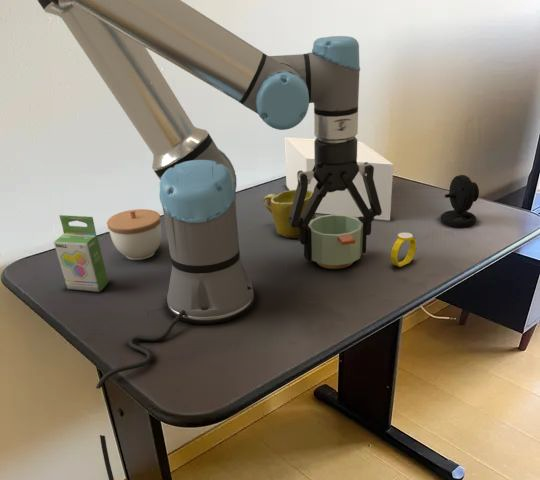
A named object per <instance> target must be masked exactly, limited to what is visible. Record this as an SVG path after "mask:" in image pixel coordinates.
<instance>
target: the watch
mask: <svg viewBox="0 0 540 480" xmlns="http://www.w3.org/2000/svg"><path fill="white" fill-rule="evenodd" d="M404 242H409V246H408V247H409V248H408V251H407V254H406V256H405V257H404V259H403V260H401V261H399V260H398V256H399V251H400V249H401V246H402V245H403V243H404ZM416 251H417V241H416V239H415V237H414V235H413V234H412V233H410V232H399V233H398V234H397V239H396V241H394V244H393V245H392V248H391V252H390V261H391V263H392V264H393V266H394V267H395V266H396V267H398V268H401V267H404V266H406V265H408V264H411V262H412V260H413V259H414V257H415V254H416Z"/></svg>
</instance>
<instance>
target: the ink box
mask: <svg viewBox="0 0 540 480" xmlns="http://www.w3.org/2000/svg"><path fill="white" fill-rule="evenodd" d="M59 220H60V223H61V226H62V232H63V233H62V234H61V235H60V236H59V237H57V239H55V240H54V241H53V245H54V248H55V252H56V255H57V258H58V261H59V265H60V269H61V271H62V275H63V278H64V281H65V285H66V288H67V290H74V291H75V290H76V291H85V292H86V291H87V292H96V293H97V292H98V293H99V292H101V291H102V290H103V289H104V288H105V287H106V286H107V285H108V284H109V279H108V275H107V271H106V267H105V262H104V258H103V253H102V249H101V246H100V242H99V238H98V235H97V231H96V225H95V221H94V217H93V216H84V215H68V214H67V215H63V214H59ZM77 221H78V222H81V223H83V224H86V226H80V225H79V226H78V225H70V224H69V223H71V222H77Z"/></svg>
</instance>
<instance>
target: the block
mask: <svg viewBox="0 0 540 480" xmlns="http://www.w3.org/2000/svg"><path fill="white" fill-rule="evenodd" d="M315 140H316V138H307V137H292V136H291V137H289V136H284V159H285V179H286V180H285V185H286V188H287V189H288V191H289V190H296V189H297V185H298V178H297V173H298V171H300V170H301V171H303V172H307V171H312V170H313V168H314V165H315V154H314V141H315ZM365 162H368V163H369V164H371V165H372V166H373V167H374V173H373V180H374V184H375V187H376V191H377V195H378V199H379V203H380V207H381V210H382V213H381V215H379V216H375V217H374V220H378V221H379V220H380V221H391V210H392V209H391V208H392V195H393V194H392V193H393V178H394V176H393V175H394V163H392V162H391V161H389V160H388V159H386V158H385V157H383V156H382V155H381V154H379V153H378V152H377V151H376V150H373V149H372V148H371V147H369V146H368V145H367V144H365V143H364V142H362V141H360V140H357V164H358V165H362V164H364V163H365ZM353 183H354V185H355V186H356V188H357V190H358V192H359V194H360V195H361V197H362V199H363V201H364V202H365V204H366V206H367V207H368V209H370V208H371V206H370V203H369V199H368V195H367V192H366V188H365V184H364V181H363V177H362V176H361V175H360V172H358V173H357V175H356V176H355V178H354V180H353ZM316 184H317V180H316V179H315V178H312V179H311V182H310V184H308V189H307V190H308V191H311V192H312V193H313V192H314V188H315V186H316ZM315 214H322V215H323V214H324V215H333V214H336V215H348V216H352V217H355V218H358V217H361V216H362V217H363V215H362V213H361V211H360V210H359V208H358V206H357V205H356V203H355V201H354V200H353V198H352V196H351V195H350V193H349V192H348V190H347V189H345V191H338V190H337V191H334V192H330V193H329V192H327V194H326V196H325V197H324V198H323V199H322V201H321V203H320V204H319V206H318V208H317V210H316V212H315Z"/></svg>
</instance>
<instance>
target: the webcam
mask: <svg viewBox="0 0 540 480" xmlns="http://www.w3.org/2000/svg"><path fill="white" fill-rule="evenodd" d="M479 195H480V189H479V186H478V183H476V182H475V181H472V180H471V178H470V177H469V176H467V175H465V174H459V175H455V176H454V177H453V179H452V180H451V182H450V185H449V191H448V193H446V194H444V198H445V199H447V198H449V201H450V202H449V203H450V204H451V207H452V209H451V210H447V211H444V212H443V213H442V214H441V215H440V219H439V220H440V222H441V223H442V224H443V225H446V226H448V227H453V228H466V227H471V226H473V225H475V223H476V221H477V216H476V215H475V214H474V213H472V212H470V211H469V210H470V209H471V208H472V206H473V204H474V203H475V202H477V201H478V199H479ZM459 218H464V219H463V220H461V219H460V220H457V219H459Z"/></svg>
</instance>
